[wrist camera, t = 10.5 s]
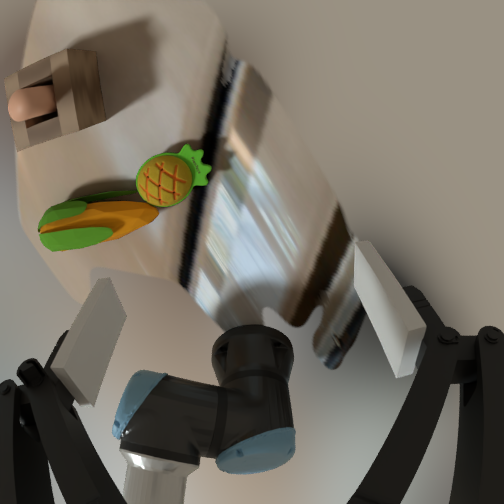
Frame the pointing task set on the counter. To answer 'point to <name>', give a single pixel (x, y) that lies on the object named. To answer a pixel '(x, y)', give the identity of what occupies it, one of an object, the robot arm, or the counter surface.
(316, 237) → the counter surface
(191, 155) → the toy pineapple
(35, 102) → the peg
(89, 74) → the socket block
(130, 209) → the corn
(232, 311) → the counter surface
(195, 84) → the counter surface
